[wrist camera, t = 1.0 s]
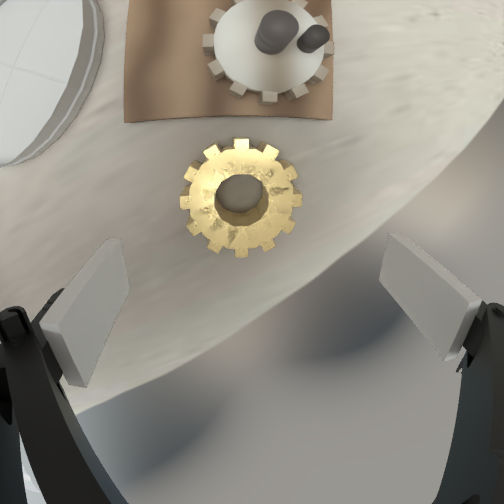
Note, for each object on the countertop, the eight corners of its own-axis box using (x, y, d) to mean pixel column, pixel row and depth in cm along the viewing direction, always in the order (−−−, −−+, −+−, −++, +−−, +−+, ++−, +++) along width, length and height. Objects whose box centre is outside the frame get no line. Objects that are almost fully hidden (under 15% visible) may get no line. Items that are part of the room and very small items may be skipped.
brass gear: (188, 241, 29) (184, 258, 26) (183, 139, 25) (177, 141, 21) (288, 238, 30) (298, 255, 26) (293, 138, 26) (304, 140, 22)
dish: (146, -4, 19) (133, -24, 14) (56, 192, 26) (31, 205, 21) (11, -20, 13) (-9, -30, 8) (-51, 136, 20) (-75, 143, 15)
